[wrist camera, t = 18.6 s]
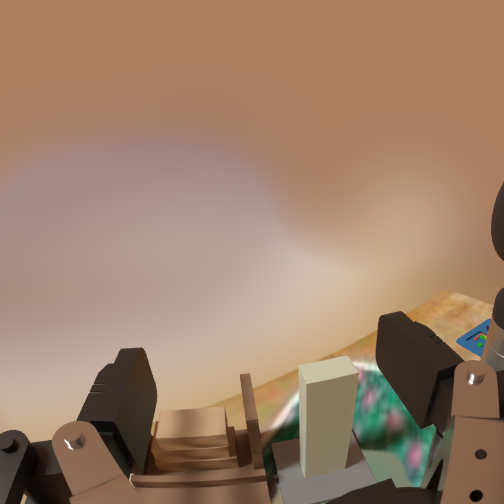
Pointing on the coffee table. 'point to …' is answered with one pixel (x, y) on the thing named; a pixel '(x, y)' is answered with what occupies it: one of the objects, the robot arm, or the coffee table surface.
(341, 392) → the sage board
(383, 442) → the coffee table surface
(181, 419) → the oak offcut stack
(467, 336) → the handheld gaming device
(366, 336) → the coffee table surface
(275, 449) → the grey mat
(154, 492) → the walnut rack
